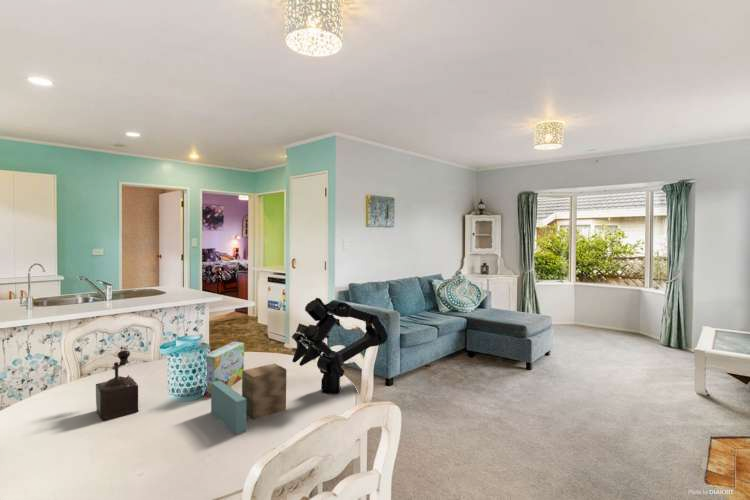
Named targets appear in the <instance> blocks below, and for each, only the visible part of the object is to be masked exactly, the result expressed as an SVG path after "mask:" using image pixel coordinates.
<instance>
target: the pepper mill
mask: <svg viewBox="0 0 750 500" xmlns="http://www.w3.org/2000/svg"><path fill="white" fill-rule="evenodd" d="M130 356H131V352H130V351H129V350H127V349H125V350H124V349H123V350H120V351H119V352H118V353H117V354H116V357H117V358H118V359H119V360H120V361H119V362H118V361H116V362H114V364H113V366H112V367H111V369H112V370H114V377H112V378H111V379H109V380H107V381H102V382H97V383H95V403H96V406H95V407H96V410H95V411H96V414H97V416H98V417H99V419H101V421H102V422H104V421H109V420H113V419H116V418H117V419H118V418H122V417H125V416H129V415H134V414H137V413H139V411H140V410H139V385H138V383H137V382H136V381H135V380H134V378H132V377H131V376H130V374H128V375H126V376H121V375H120V376H119V368H120V367H121V366H125V365H127V364H128V363H130V362H129V360H128V359H129V357H130Z"/></svg>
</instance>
